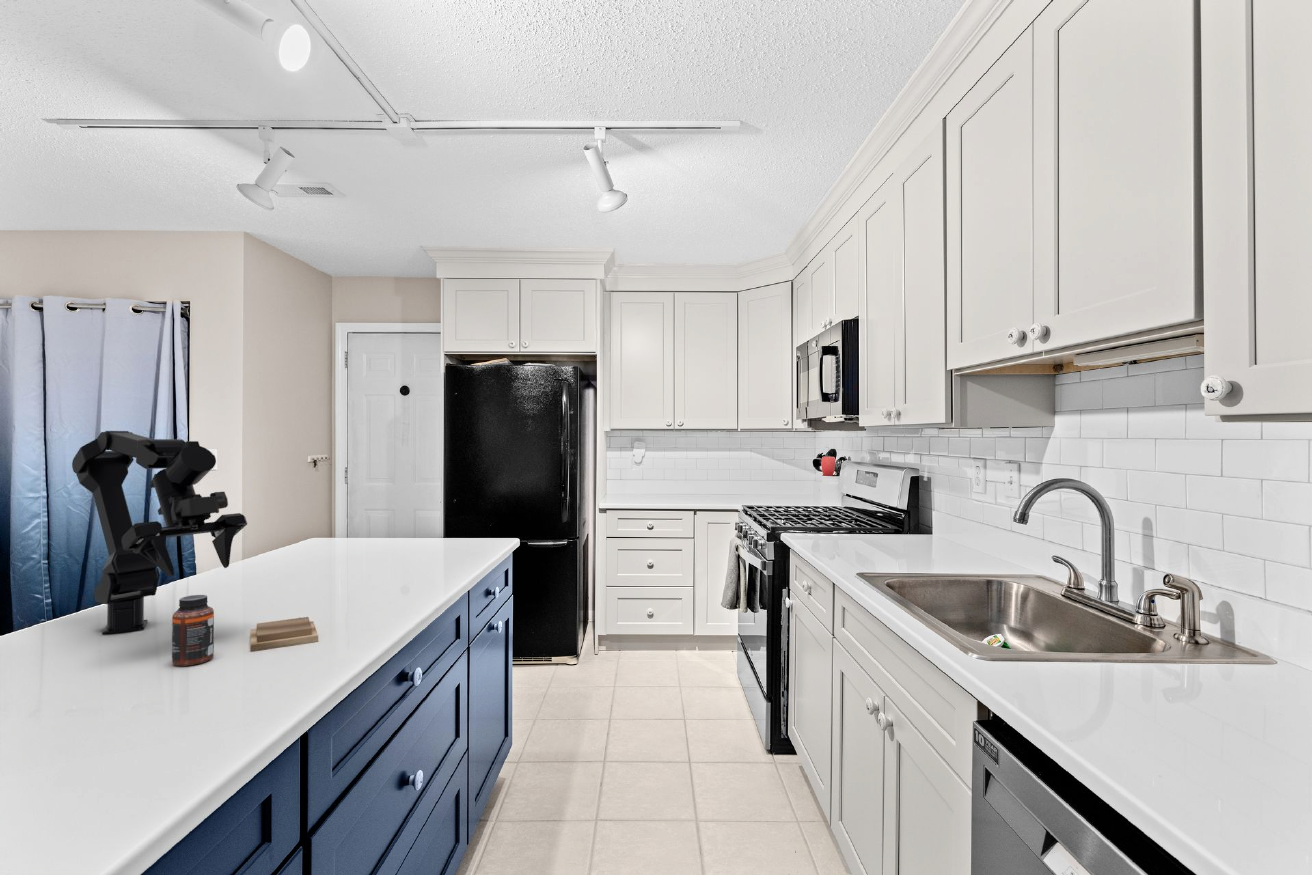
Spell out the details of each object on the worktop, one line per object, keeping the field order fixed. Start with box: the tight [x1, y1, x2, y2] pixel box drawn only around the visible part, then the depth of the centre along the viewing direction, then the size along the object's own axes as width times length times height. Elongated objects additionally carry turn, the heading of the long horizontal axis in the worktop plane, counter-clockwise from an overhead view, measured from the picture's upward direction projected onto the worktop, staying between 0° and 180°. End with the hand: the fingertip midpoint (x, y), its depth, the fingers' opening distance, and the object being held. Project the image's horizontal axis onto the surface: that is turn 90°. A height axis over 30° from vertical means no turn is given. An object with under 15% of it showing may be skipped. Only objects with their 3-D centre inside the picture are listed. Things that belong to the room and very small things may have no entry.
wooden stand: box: [250, 616, 319, 653], centre depth 123 cm, size 11×11×2 cm
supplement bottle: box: [171, 594, 215, 667], centre depth 110 cm, size 6×6×11 cm
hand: (200, 571), depth 116 cm, fingers open, 9 cm apart
